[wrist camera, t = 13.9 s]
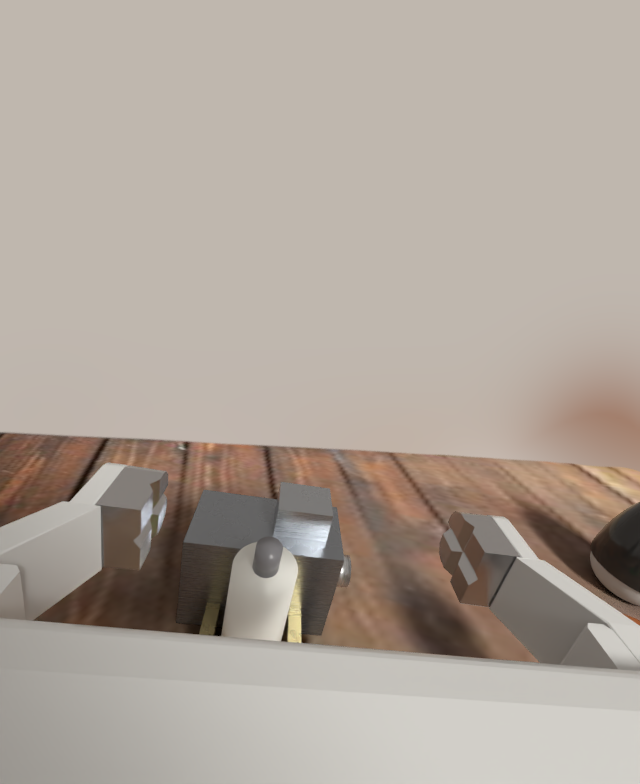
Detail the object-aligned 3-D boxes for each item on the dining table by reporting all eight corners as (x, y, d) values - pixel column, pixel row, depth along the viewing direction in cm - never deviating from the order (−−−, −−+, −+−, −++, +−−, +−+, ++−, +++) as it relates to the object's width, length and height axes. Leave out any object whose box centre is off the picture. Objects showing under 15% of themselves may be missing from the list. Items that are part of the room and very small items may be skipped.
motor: (151, 696, 28) (158, 577, 24) (196, 562, 40) (206, 465, 36) (347, 709, 30) (389, 600, 25) (333, 577, 42) (360, 487, 38)
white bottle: (209, 698, 29) (229, 571, 24) (222, 635, 34) (241, 518, 28) (271, 702, 30) (303, 579, 24) (275, 640, 34) (302, 526, 29)
